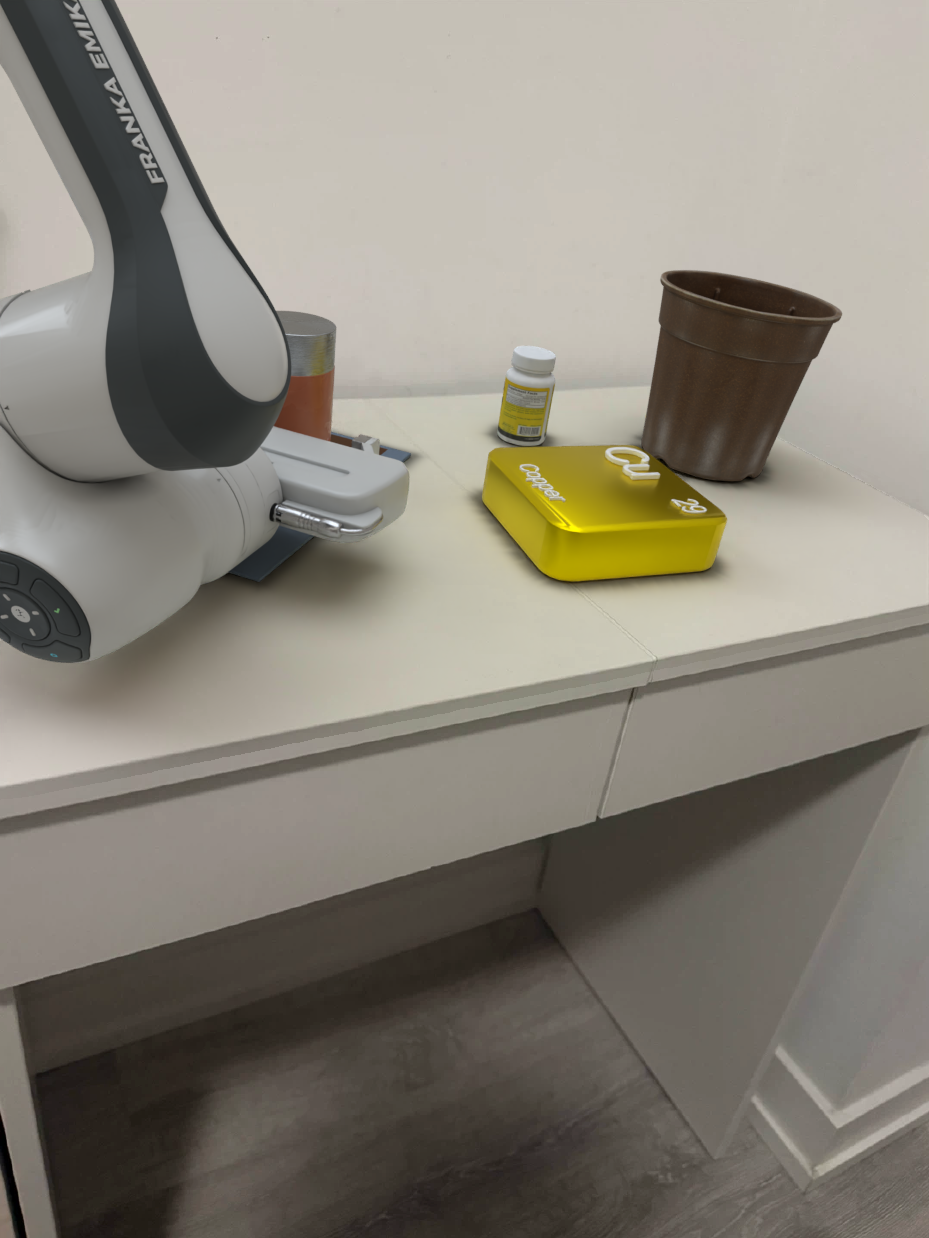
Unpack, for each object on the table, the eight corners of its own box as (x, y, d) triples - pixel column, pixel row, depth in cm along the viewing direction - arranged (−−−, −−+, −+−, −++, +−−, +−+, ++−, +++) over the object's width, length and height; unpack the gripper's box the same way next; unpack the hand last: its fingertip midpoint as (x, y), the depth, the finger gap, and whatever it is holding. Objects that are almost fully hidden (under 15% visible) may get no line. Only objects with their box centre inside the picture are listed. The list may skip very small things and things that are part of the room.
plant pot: (756, 437, 98) (806, 283, 90) (808, 501, 84) (872, 327, 76) (609, 419, 97) (645, 260, 88) (637, 482, 83) (684, 301, 74)
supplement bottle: (513, 425, 91) (527, 341, 87) (553, 440, 89) (570, 355, 85) (486, 435, 88) (500, 349, 83) (527, 451, 86) (543, 363, 81)
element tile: (473, 494, 76) (481, 440, 73) (627, 488, 81) (640, 437, 79) (549, 586, 64) (562, 525, 62) (723, 571, 70) (741, 515, 67)
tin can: (231, 474, 72) (231, 321, 66) (274, 448, 78) (278, 305, 71) (303, 495, 71) (310, 341, 64) (342, 468, 76) (352, 323, 70)
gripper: (363, 493, 53) (447, 424, 64) (67, 409, 57) (195, 358, 68) (355, 587, 56) (437, 505, 67) (76, 500, 60) (196, 437, 72)
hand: (313, 430), depth 68 cm, fingers open, 8 cm apart
